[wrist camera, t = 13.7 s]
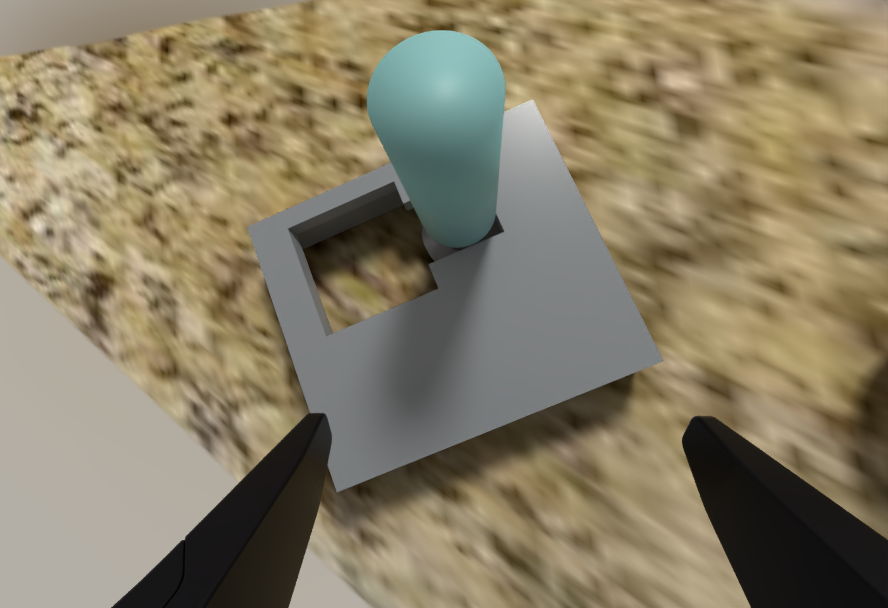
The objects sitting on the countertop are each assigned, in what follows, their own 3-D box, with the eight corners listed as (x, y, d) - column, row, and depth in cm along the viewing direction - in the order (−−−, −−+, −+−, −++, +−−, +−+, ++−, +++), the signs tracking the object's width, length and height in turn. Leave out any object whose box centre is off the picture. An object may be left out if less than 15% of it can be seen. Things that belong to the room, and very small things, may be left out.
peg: (514, 254, 21) (550, 130, 9) (441, 284, 21) (387, 202, 10) (483, 185, 22) (480, -11, 10) (413, 216, 22) (329, 60, 10)
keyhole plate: (636, 359, 20) (663, 361, 17) (358, 471, 21) (336, 492, 18) (526, 133, 22) (532, 99, 19) (277, 243, 23) (247, 226, 20)
